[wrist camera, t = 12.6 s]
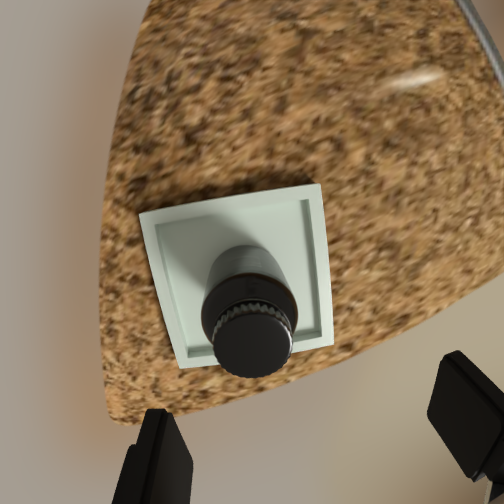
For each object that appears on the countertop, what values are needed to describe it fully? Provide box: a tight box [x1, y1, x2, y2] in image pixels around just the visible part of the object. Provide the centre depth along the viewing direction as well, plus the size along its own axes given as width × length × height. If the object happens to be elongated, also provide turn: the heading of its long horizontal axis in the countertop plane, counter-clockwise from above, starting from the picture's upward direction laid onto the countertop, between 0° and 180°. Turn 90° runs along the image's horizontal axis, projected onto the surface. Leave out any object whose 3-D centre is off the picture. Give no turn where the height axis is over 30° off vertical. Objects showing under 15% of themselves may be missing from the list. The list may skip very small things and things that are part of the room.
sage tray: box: [139, 183, 334, 369], centre depth 29 cm, size 16×16×2 cm
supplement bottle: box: [201, 245, 298, 378], centre depth 23 cm, size 7×7×12 cm
